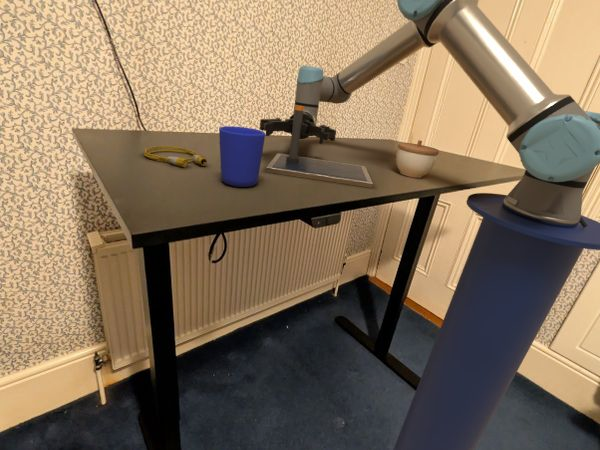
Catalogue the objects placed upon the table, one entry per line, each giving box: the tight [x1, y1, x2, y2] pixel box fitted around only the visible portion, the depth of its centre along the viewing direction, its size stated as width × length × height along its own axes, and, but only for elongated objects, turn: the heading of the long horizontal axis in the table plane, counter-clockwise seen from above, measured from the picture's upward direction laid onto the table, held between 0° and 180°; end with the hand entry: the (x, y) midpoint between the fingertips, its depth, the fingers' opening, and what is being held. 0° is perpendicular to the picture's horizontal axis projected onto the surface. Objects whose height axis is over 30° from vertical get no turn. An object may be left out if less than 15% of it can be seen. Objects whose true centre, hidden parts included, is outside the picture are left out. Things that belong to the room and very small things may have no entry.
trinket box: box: [395, 139, 440, 179], centre depth 88 cm, size 11×11×9 cm
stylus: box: [286, 105, 304, 164], centre depth 77 cm, size 3×3×13 cm
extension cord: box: [144, 145, 208, 168], centre depth 72 cm, size 12×16×2 cm
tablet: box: [265, 152, 374, 189], centre depth 80 cm, size 24×17×1 cm
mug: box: [218, 125, 266, 188], centre depth 62 cm, size 8×12×10 cm
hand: (294, 134), depth 73 cm, fingers open, 12 cm apart
